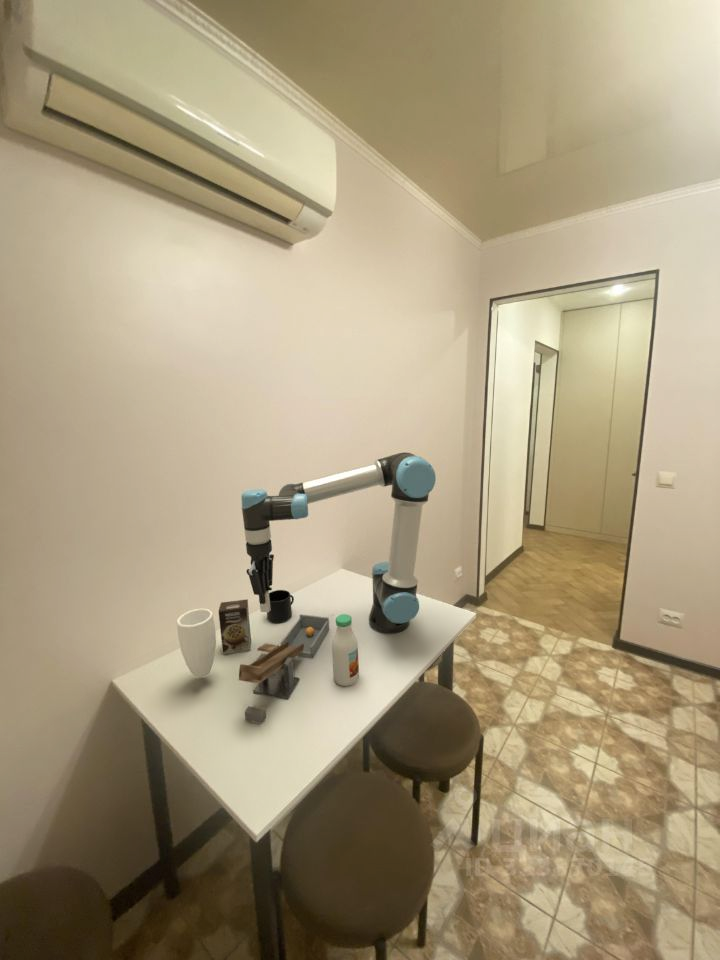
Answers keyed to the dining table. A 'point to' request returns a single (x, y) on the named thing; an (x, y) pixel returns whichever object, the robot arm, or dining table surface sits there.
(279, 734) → the dining table surface
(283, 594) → the mug
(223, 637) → the coffee box
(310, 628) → the ball
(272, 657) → the lever
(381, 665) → the dining table surface
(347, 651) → the milk bottle
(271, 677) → the fulcrum
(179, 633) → the cup
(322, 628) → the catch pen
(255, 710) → the block
